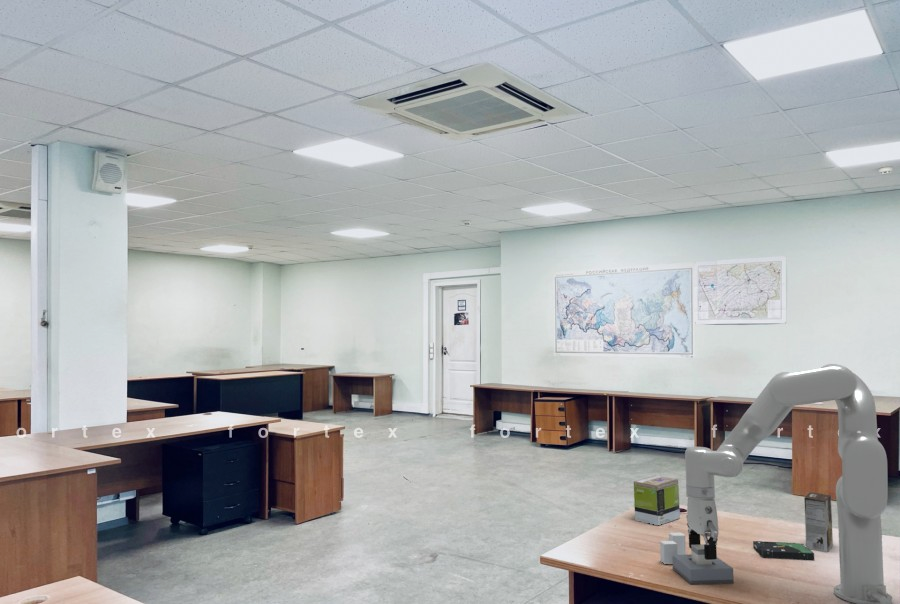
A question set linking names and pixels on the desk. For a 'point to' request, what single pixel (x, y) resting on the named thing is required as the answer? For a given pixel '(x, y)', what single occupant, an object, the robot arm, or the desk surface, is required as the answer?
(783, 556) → the disk drive
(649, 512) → the tea box
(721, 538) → the desk surface
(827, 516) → the coffee box
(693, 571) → the holder
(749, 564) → the desk surface
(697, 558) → the block
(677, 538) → the pale grey post pair
